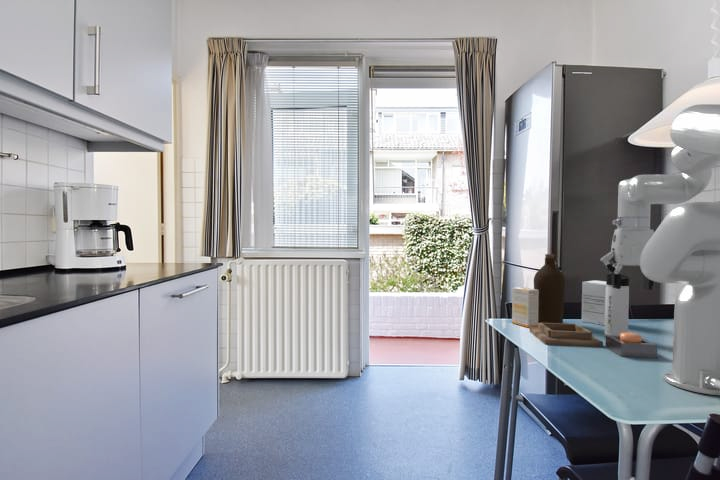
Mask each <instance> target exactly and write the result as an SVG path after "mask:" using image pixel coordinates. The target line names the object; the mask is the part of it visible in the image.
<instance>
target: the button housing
mask: <svg viewBox="0 0 720 480" xmlns="http://www.w3.org/2000/svg"><path fill="white" fill-rule="evenodd" d="M605 348H606V349H607V350H609V351H611V352H613V353H614V354H616V355H618V356H619V357H623V358H625V357H627V358H647V359H648V358H649V359H651V358H653V359H658V344H657V343H654V342H652V341H650V340H647V339H646V338H644V337H641V343H633V342H623V341H621V340H620V336H614V335H606V337H605Z"/></svg>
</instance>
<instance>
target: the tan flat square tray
mask: <svg viewBox="0 0 720 480" xmlns="http://www.w3.org/2000/svg"><path fill="white" fill-rule="evenodd" d="M529 333H531V334H532V335H533V336H535V337H536V338H537V339H538V340H539V341H540V342H542V343H543V344H544V345H554V346H557V345H558V346H575V347H576V346H577V347H578V346H579V347H599V348H600V347H601V348H602V347H603V346H604V341H602V339H599V338H597V337H596V336H593V331H592V330H589V329H587V328H585V327H584V326H582V325H580V324H577V323H566V322H565V323H564V322H563V323H540V322H539V323H538V327H530V328H529Z"/></svg>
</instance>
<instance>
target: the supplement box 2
mask: <svg viewBox="0 0 720 480" xmlns="http://www.w3.org/2000/svg"><path fill="white" fill-rule="evenodd" d="M606 282H607V281H606V280H594V279H593V280H588V281H582V283H581V284H582V285H581V286H582V287H581V290H582V291H581V292H582V293H581V322H583V323H584V322H585V323H589V324H593V323H594V324H595V325H599V324H600V325H599V326H605V301H606Z"/></svg>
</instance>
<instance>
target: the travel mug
mask: <svg viewBox="0 0 720 480" xmlns="http://www.w3.org/2000/svg"><path fill="white" fill-rule="evenodd" d="M620 275H621V288H620V289H616V288H613V285H612V284H611V277H612V273H610V274H606V278H605V279H606V280H605V282H606V301H605V325H604V337H605V338H606V335H614V336H620V333H621V332H629V308H630V307H629V304H630V276H628V275H625V274H620Z"/></svg>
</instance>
